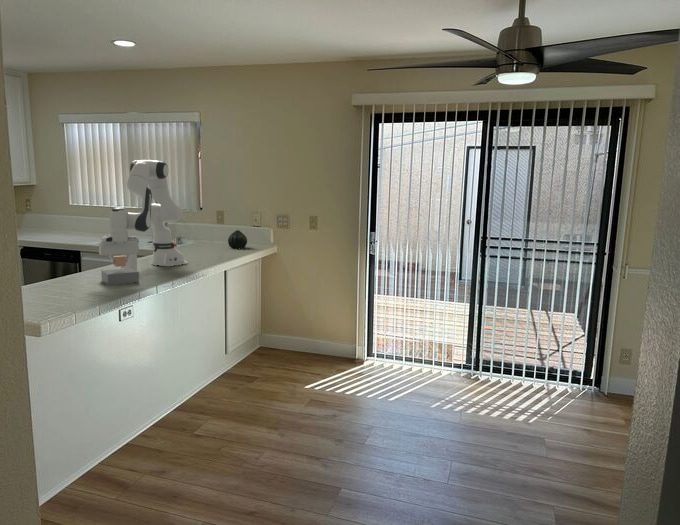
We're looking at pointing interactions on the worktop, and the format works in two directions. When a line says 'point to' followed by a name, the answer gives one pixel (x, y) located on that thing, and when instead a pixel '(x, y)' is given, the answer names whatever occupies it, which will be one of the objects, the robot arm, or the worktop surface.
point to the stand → (120, 276)
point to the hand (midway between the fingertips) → (119, 262)
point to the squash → (237, 240)
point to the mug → (131, 261)
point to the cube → (119, 261)
